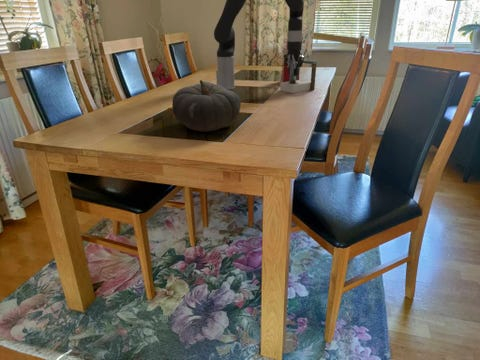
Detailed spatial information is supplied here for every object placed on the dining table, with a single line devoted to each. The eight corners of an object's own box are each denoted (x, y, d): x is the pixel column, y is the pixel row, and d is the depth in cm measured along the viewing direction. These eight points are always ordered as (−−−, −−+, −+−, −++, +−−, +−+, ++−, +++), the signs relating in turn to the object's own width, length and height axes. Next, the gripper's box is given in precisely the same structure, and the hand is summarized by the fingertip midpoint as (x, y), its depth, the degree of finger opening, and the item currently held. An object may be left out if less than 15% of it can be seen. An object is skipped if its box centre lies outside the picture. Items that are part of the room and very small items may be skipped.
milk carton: (294, 81, 207) (296, 46, 199) (295, 84, 199) (297, 48, 190) (280, 81, 208) (281, 46, 199) (280, 84, 200) (281, 48, 191)
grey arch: (309, 91, 180) (311, 61, 174) (291, 87, 191) (292, 59, 184) (314, 90, 182) (316, 60, 176) (296, 86, 193) (298, 58, 186)
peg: (297, 83, 180) (298, 59, 175) (292, 83, 178) (293, 60, 173) (292, 82, 183) (293, 59, 177) (288, 83, 181) (289, 59, 176)
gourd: (207, 106, 143) (207, 65, 132) (253, 126, 131) (257, 83, 120) (161, 126, 127) (156, 82, 117) (208, 151, 115) (208, 103, 104)
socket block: (293, 93, 177) (293, 85, 175) (280, 90, 184) (280, 82, 182) (310, 89, 183) (311, 82, 182) (297, 87, 191) (297, 80, 189)
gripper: (279, 40, 174) (278, 74, 182) (299, 41, 164) (297, 77, 172) (290, 39, 178) (288, 73, 186) (309, 40, 168) (307, 76, 175)
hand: (292, 75), depth 179 cm, fingers closed on peg, 3 cm apart
